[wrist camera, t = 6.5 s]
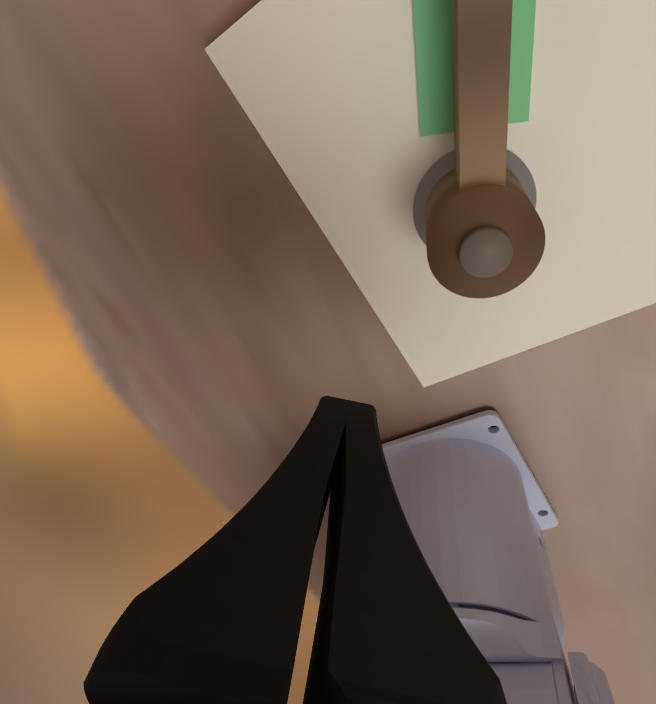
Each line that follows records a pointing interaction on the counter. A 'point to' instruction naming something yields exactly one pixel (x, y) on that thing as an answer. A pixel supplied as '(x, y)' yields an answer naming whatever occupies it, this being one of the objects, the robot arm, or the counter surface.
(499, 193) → the wooden crank handle
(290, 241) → the counter surface
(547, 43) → the dial board
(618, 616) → the counter surface
